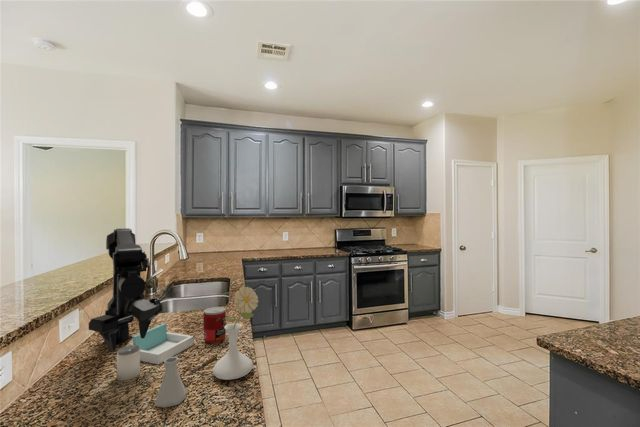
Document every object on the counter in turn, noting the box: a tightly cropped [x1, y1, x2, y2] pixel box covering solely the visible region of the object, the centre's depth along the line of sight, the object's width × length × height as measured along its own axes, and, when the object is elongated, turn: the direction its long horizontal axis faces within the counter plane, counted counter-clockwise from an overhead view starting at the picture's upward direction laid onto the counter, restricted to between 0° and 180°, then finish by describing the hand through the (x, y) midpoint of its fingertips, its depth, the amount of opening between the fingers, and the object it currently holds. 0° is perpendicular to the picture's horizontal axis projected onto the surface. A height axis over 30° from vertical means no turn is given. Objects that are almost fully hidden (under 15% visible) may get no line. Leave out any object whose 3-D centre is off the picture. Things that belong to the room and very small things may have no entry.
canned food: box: [203, 306, 227, 344], centre depth 110 cm, size 8×8×11 cm
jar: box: [116, 344, 141, 382], centre depth 85 cm, size 6×6×8 cm
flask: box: [154, 356, 187, 408], centre depth 74 cm, size 7×7×10 cm
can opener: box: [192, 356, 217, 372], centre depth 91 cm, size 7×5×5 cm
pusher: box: [132, 323, 168, 350], centre depth 102 cm, size 1×12×6 cm, turn 161°
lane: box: [140, 331, 194, 365], centre depth 101 cm, size 17×15×3 cm
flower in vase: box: [212, 286, 259, 381], centre depth 86 cm, size 13×11×25 cm
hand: (128, 344), depth 85 cm, fingers open, 9 cm apart
